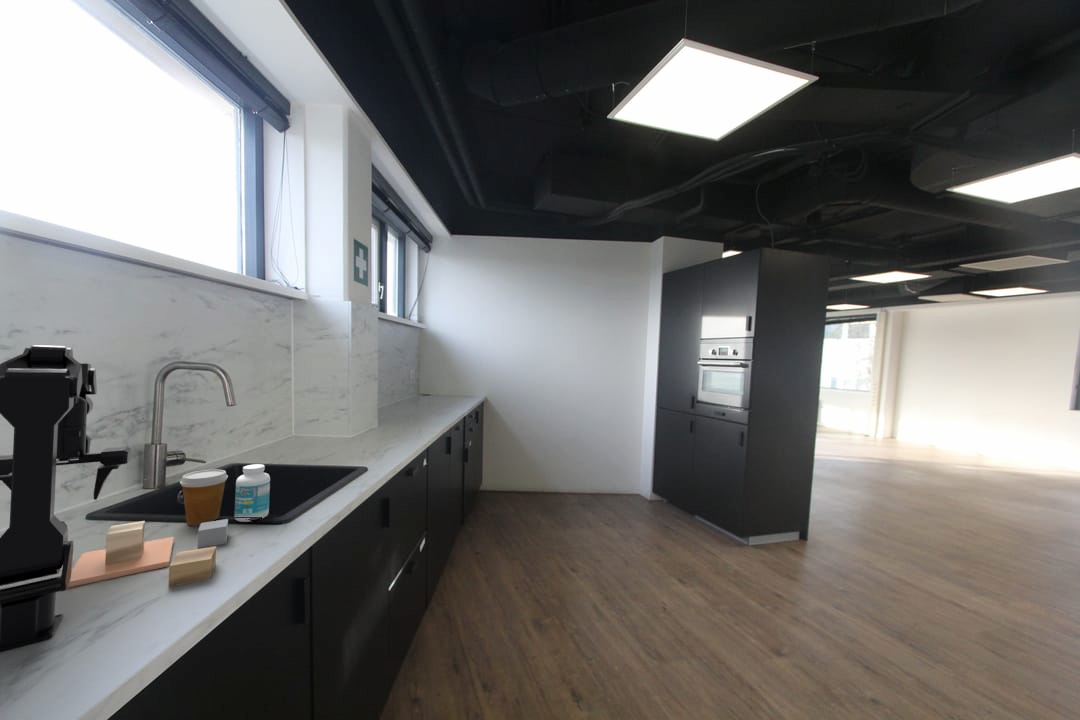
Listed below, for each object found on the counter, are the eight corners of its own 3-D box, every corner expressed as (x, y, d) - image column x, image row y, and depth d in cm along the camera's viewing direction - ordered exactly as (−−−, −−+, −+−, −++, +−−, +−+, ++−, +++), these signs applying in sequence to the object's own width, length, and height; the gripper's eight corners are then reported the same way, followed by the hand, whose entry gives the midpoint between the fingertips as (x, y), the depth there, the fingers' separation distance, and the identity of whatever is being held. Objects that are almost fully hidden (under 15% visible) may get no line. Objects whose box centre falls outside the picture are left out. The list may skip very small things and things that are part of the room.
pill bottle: (226, 520, 105) (228, 468, 105) (253, 511, 113) (255, 461, 113) (250, 524, 104) (252, 471, 104) (275, 514, 111) (277, 464, 111)
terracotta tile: (168, 566, 82) (168, 561, 82) (63, 588, 74) (63, 582, 74) (173, 541, 93) (173, 536, 93) (82, 557, 84) (83, 552, 84)
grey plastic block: (226, 543, 93) (226, 526, 93) (197, 549, 90) (198, 530, 90) (227, 535, 97) (228, 518, 97) (200, 540, 94) (200, 523, 94)
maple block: (140, 558, 83) (141, 528, 83) (105, 565, 80) (106, 534, 80) (143, 549, 87) (145, 520, 87) (110, 555, 84) (111, 526, 84)
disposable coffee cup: (168, 529, 99) (170, 479, 99) (193, 514, 109) (195, 469, 109) (213, 527, 101) (215, 478, 101) (234, 513, 111) (235, 468, 111)
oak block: (209, 579, 78) (210, 558, 78) (168, 587, 75) (169, 565, 75) (215, 565, 83) (216, 546, 83) (177, 572, 80) (177, 552, 80)
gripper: (136, 417, 94) (133, 485, 94) (6, 423, 83) (3, 500, 82) (128, 424, 85) (125, 499, 85) (-18, 431, 74) (-22, 518, 74)
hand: (62, 503), depth 82 cm, fingers open, 9 cm apart
